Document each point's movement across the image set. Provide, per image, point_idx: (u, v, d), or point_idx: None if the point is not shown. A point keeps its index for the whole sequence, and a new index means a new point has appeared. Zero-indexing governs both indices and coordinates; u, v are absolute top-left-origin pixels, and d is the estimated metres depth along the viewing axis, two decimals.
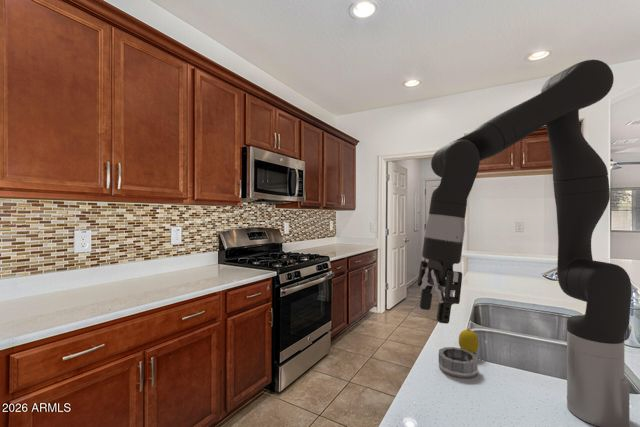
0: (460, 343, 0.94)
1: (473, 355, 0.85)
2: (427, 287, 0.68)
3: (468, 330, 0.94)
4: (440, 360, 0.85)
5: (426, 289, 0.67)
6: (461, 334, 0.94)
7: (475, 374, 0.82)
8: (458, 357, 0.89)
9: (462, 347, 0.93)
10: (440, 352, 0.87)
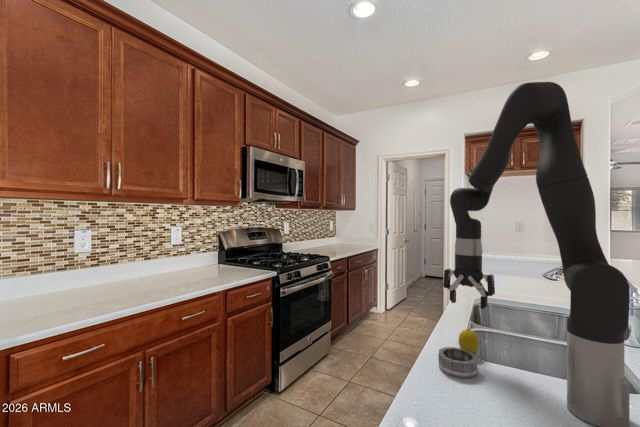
0: (460, 343, 0.94)
1: (473, 355, 0.85)
2: None
3: (468, 330, 0.94)
4: (440, 360, 0.85)
5: None
6: (461, 334, 0.94)
7: (475, 374, 0.82)
8: (458, 357, 0.89)
9: (462, 347, 0.93)
10: (440, 352, 0.87)
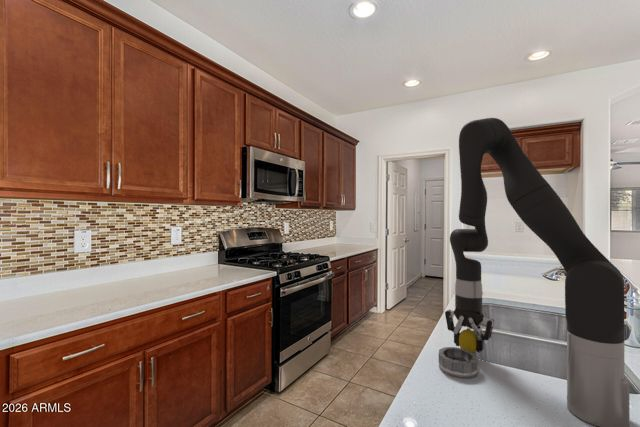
0: (460, 343, 0.94)
1: (473, 355, 0.85)
2: None
3: (468, 330, 0.94)
4: (440, 360, 0.85)
5: None
6: (461, 334, 0.94)
7: (475, 374, 0.82)
8: (458, 357, 0.89)
9: (462, 347, 0.93)
10: (440, 352, 0.87)
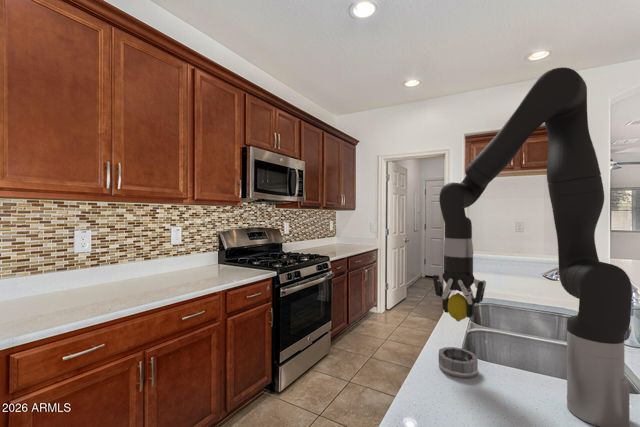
0: (449, 308, 0.85)
1: (473, 355, 0.85)
2: None
3: (458, 294, 0.85)
4: (440, 360, 0.85)
5: None
6: (450, 299, 0.85)
7: (475, 374, 0.82)
8: (458, 357, 0.89)
9: (451, 312, 0.84)
10: (440, 352, 0.87)
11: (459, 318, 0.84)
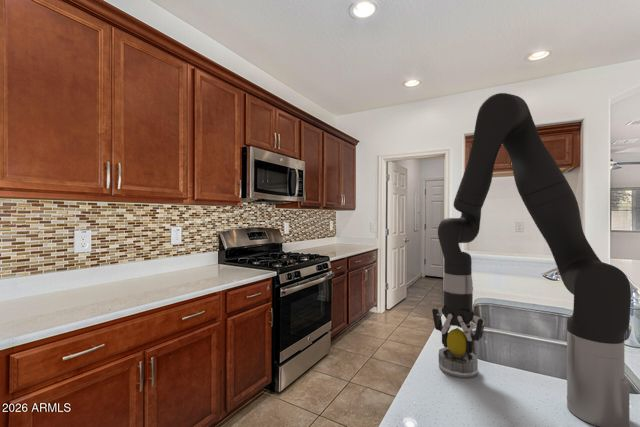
0: (448, 344, 0.85)
1: (473, 355, 0.85)
2: None
3: (457, 330, 0.85)
4: (440, 360, 0.85)
5: None
6: (449, 334, 0.85)
7: (475, 374, 0.82)
8: (458, 357, 0.89)
9: (450, 348, 0.84)
10: (440, 352, 0.87)
11: (458, 354, 0.83)
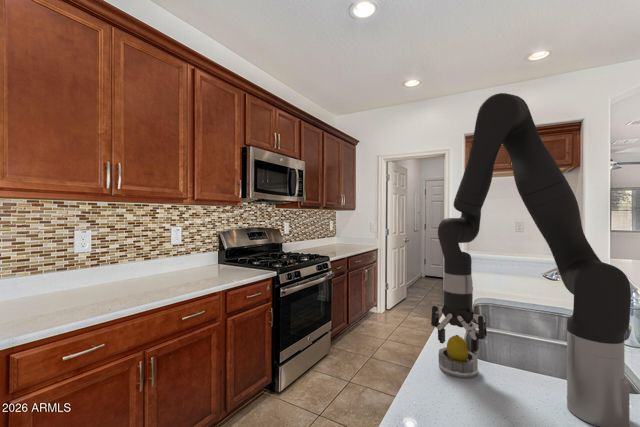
0: (448, 351, 0.85)
1: (473, 355, 0.85)
2: None
3: (457, 336, 0.85)
4: (440, 360, 0.85)
5: None
6: (449, 341, 0.85)
7: (475, 374, 0.82)
8: None
9: (450, 355, 0.84)
10: (440, 352, 0.87)
11: None
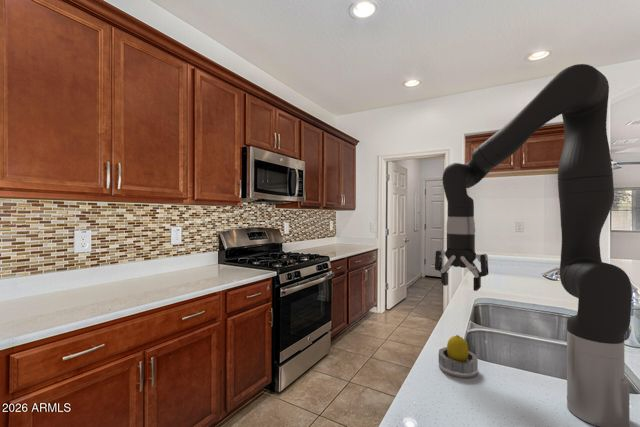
0: (448, 351, 0.85)
1: (473, 355, 0.85)
2: None
3: (457, 337, 0.85)
4: (440, 360, 0.85)
5: None
6: (450, 341, 0.85)
7: (475, 374, 0.82)
8: None
9: (451, 355, 0.84)
10: (440, 352, 0.87)
11: None
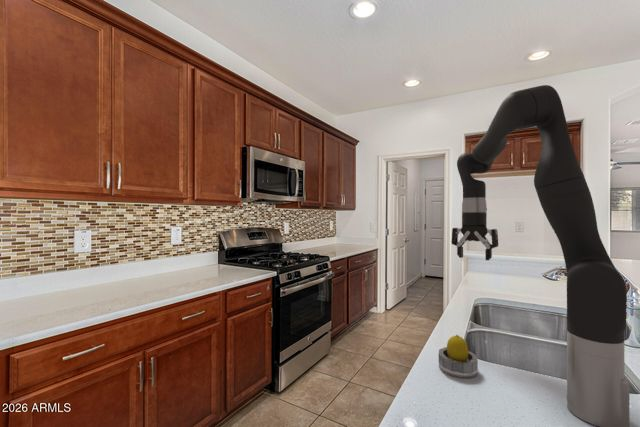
0: (448, 351, 0.85)
1: (473, 355, 0.85)
2: None
3: (457, 337, 0.85)
4: (440, 360, 0.85)
5: None
6: (449, 341, 0.85)
7: (475, 374, 0.82)
8: None
9: (450, 355, 0.84)
10: (440, 352, 0.87)
11: None
